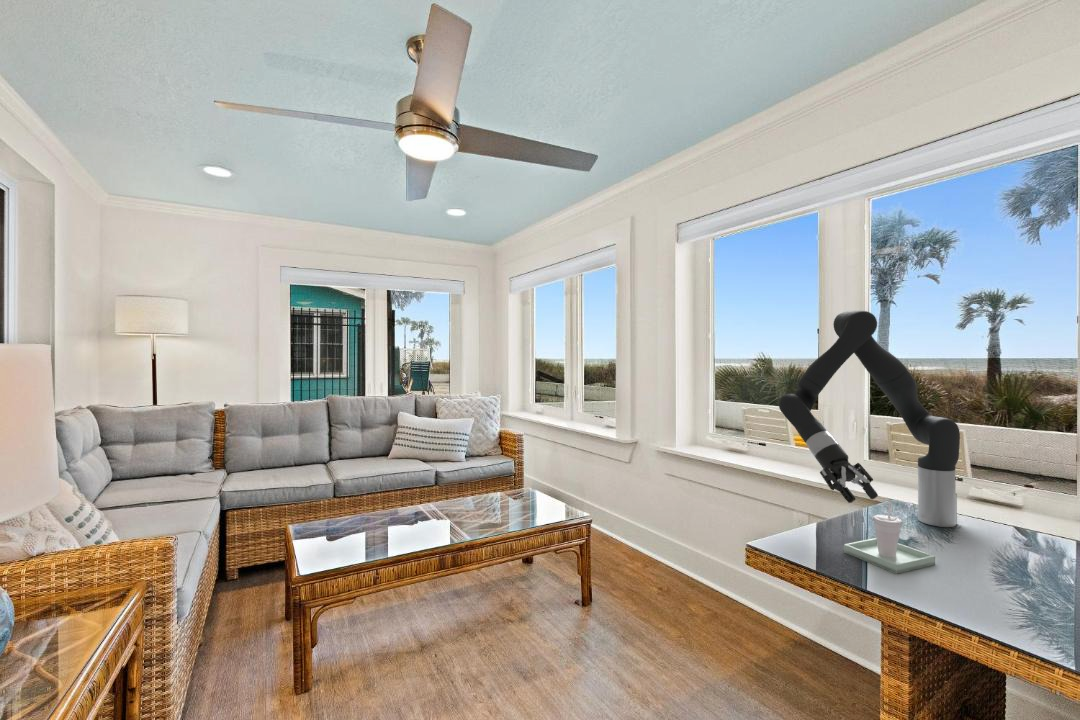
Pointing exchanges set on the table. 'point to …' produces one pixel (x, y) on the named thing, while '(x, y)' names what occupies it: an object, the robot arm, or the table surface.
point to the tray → (901, 563)
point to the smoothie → (887, 533)
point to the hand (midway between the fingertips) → (864, 499)
